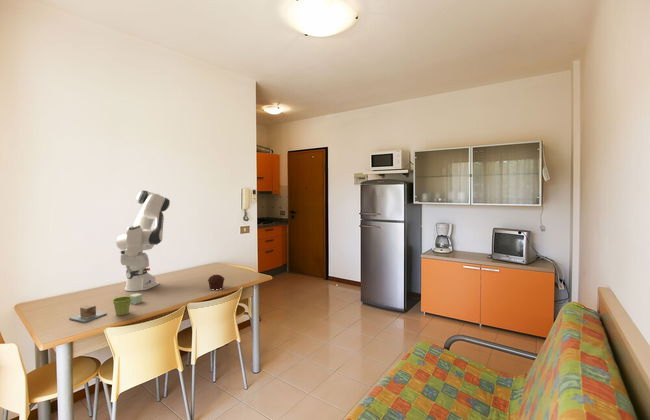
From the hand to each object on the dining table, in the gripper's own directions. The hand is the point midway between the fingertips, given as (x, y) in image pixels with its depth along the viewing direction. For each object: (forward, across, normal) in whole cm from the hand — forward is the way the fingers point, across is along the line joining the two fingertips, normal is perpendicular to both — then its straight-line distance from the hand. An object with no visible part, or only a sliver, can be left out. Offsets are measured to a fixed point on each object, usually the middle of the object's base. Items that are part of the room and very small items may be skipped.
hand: (135, 273), depth 195 cm
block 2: (+19, 0, 0) cm, 19 cm away
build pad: (+19, +4, +26) cm, 32 cm away
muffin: (+19, -28, -42) cm, 54 cm away
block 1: (+18, +4, +26) cm, 32 cm away
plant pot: (+19, -9, +16) cm, 26 cm away
